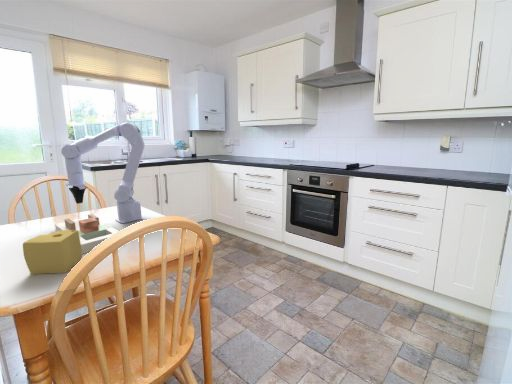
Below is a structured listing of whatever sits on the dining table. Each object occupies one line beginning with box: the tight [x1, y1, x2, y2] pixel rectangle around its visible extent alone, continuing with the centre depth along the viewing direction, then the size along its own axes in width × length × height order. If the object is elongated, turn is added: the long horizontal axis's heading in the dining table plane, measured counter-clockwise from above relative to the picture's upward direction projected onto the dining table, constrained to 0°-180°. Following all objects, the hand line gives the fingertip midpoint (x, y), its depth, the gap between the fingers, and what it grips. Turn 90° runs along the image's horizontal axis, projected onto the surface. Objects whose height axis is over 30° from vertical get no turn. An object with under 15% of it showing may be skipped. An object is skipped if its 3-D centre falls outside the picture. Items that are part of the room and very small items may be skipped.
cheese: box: [22, 230, 83, 275], centre depth 84 cm, size 10×11×10 cm
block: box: [79, 218, 99, 234], centre depth 107 cm, size 5×5×4 cm
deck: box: [54, 213, 119, 254], centre depth 110 cm, size 14×33×6 cm, turn 47°
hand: (79, 203), depth 124 cm, fingers closed
